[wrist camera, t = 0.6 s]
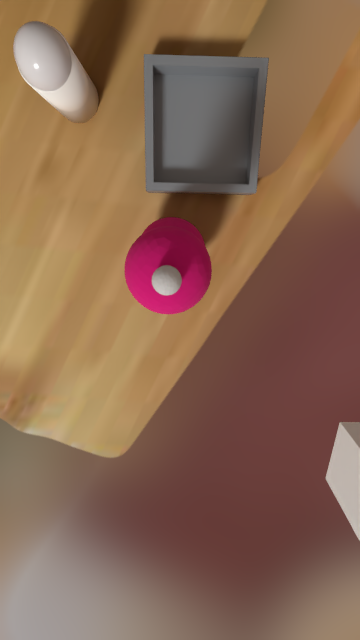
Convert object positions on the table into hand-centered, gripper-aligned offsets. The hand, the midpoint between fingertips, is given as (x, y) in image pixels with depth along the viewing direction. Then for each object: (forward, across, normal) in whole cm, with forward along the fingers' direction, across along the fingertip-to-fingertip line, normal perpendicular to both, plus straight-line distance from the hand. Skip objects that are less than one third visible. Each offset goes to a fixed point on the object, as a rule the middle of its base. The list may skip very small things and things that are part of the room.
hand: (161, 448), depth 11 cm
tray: (+28, +3, +16) cm, 32 cm away
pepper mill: (+28, 0, +4) cm, 28 cm away
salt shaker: (+28, -10, +19) cm, 35 cm away
